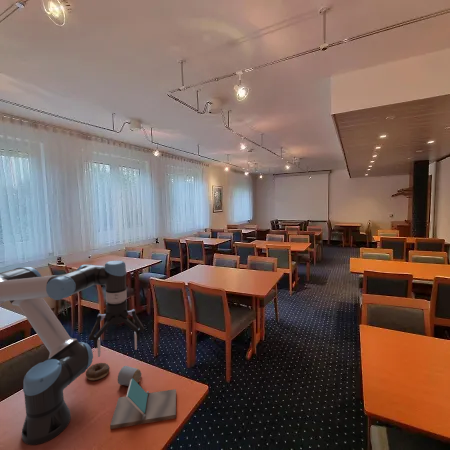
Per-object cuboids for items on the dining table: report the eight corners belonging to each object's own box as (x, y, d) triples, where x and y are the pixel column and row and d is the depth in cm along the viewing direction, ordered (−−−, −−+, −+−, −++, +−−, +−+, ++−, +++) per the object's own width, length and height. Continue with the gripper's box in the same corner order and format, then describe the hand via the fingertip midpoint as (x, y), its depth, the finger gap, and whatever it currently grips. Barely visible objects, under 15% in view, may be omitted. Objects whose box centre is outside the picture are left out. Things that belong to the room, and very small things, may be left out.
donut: (80, 379, 124) (80, 371, 124) (98, 366, 134) (97, 359, 134) (97, 384, 120) (97, 376, 120) (114, 370, 130) (114, 363, 130)
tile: (125, 397, 98) (128, 395, 98) (130, 379, 108) (132, 378, 108) (142, 414, 100) (144, 413, 100) (145, 395, 110) (147, 394, 110)
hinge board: (110, 429, 96) (110, 422, 96) (118, 400, 110) (118, 395, 110) (175, 418, 101) (175, 412, 100) (176, 392, 114) (175, 386, 114)
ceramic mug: (133, 390, 116) (132, 374, 115) (117, 388, 118) (116, 372, 117) (145, 375, 126) (145, 360, 125) (130, 373, 128) (130, 358, 127)
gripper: (79, 308, 94) (81, 363, 96) (150, 299, 103) (151, 350, 105) (82, 301, 101) (84, 352, 103) (148, 293, 110) (149, 340, 112)
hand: (117, 351), depth 104 cm, fingers open, 13 cm apart
